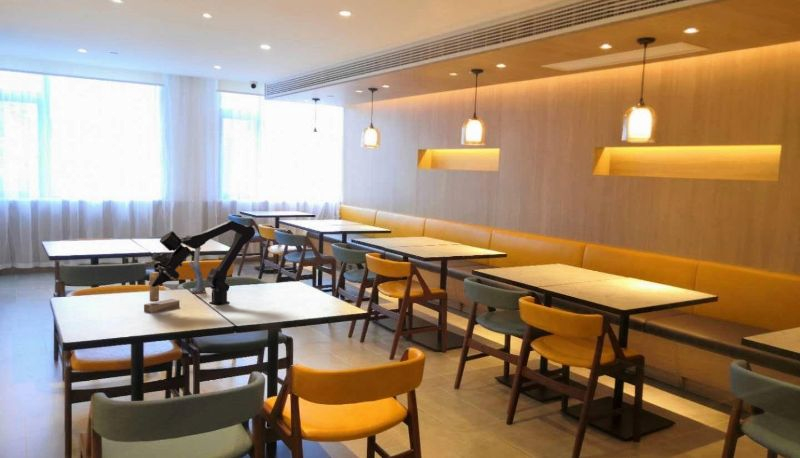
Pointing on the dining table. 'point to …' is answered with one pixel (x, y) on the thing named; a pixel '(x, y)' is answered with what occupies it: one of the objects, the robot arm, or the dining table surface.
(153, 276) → the oak rod
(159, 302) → the block
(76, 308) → the dining table surface
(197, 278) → the antler
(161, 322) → the dining table surface
